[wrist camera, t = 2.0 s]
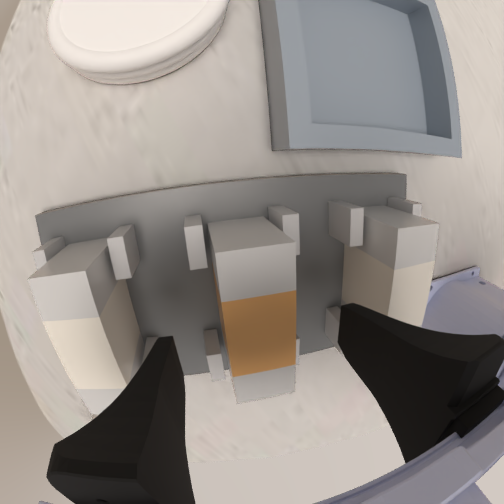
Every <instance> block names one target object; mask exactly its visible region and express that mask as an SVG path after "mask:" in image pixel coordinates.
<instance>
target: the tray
mask: <svg viewBox="0 0 504 504" xmlns="http://www.w3.org/2000/svg"><path fill="white" fill-rule="evenodd" d="M259 9H260V18H261V27H262V37H263V47H264V57H265V68H266V79H267V90H268V102H269V115H270V128H271V141H272V151H275V150H306V149H344V150H374V151H392V152H406V153H417V154H427V155H437V156H448V157H457V158H462V149H461V128H460V116H459V106H458V98H457V90H456V84H455V77H454V72H453V66H452V61H451V57H450V52H449V48H448V44H447V40H446V36H445V32H444V28H443V25H442V21H441V18H440V15H439V12H438V9H437V6H436V3H435V0H259Z"/></svg>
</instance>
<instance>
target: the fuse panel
mask: <svg viewBox="0 0 504 504" xmlns="http://www.w3.org/2000/svg"><path fill="white" fill-rule="evenodd" d="M380 205H385V206H388V207H391V208H395V209H398V210H401V211H404V212H407V213H410V214H413V215H416V216H419V217H421V214H422V204H421V203H418V202H414V201H410V200H406V174H400V173H338V174H311V175H292V176H277V177H263V178H251V179H240V180H230V181H221V182H212V183H203V184H195V185H187V186H180V187H172V188H165V189H159V190H152V191H146V192H140V193H134V194H128V195H122V196H117V197H111V198H106V199H101V200H96V201H91V202H86V203H81V204H76V205H72V206H67V207H63V208H58V209H54V210H50V211H46V212H42V213H40V214H38V215H35V217H36V222H37V227H38V232H39V236H40V241H41V245H42V246H40V247H39V248H37V249H36V250H34V251H33V252H32V254H33V258H34V261H35V265H36V269H37V270H38V269H39V268H41V267H42V266H43V265H44V264H45V263H47V262H48V261H49V260H50V259H51V258H53V257H54V256H55V255H56V254H57V253H59V252H60V251H61V250H62V249H64V248H65V247H66V246H67V245H69V244H72V243H78V242H84V241H90V240H96V239H102V238H107V243H108V248H109V252H110V257H111V261H112V265H113V270H114V274H115V278H116V280H121V279H126V283H127V287H128V291H129V295H130V298H131V302H132V306H133V309H134V313H135V316H136V319H137V323H138V326H139V329H140V332H141V336H142V339H143V342H144V345H145V350H144V356H143V362H144V360H145V359H146V357H147V355H148V354H149V352H150V350H151V348H152V347H153V345H154V343H155V342H156V340H157V339H158V337H166V336H173V338H174V342H175V345H176V349H177V353H178V356H179V360H180V363H181V367H182V370H183V374H184V375H193V374H201V373H208V372H210V374H211V379H212V381H219V380H225V379H226V378H225V372H224V370H228V369H229V366H228V362H227V357H226V352H225V348H224V342H223V336H222V329H221V323H220V316H219V309H218V302H217V295H216V288H215V281H214V274H213V266H212V258H211V250H210V242H209V234H208V225H207V223H211V222H219V221H227V220H235V219H244V218H252V217H261V216H264V217H265V218H266V219H267V220H269V221H270V222H271V223H272V224H274V225H275V226H276V227H277V228H279V229H280V230H281V231H282V232H284V233H285V234H286V235H287V236H289V237H290V238H291V239H292V240H294V241H295V243H296V365H299V355H303V354H307V353H311V352H315V351H319V350H323V349H327V348H330V347H334V346H335V347H336V348H337V350H338V351H339V352H340V354H341V353H343V352H342V350H341V349H340V347H339V345H338V343H337V341H338V332H339V322H340V311H341V298H342V284H343V266H344V244H345V245H347V246H349V247H354V246H361V245H363V222H364V208H363V207H367V206H380ZM143 362H142V363H143Z"/></svg>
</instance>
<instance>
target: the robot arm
mask: <svg viewBox="0 0 504 504" xmlns="http://www.w3.org/2000/svg"><path fill="white" fill-rule="evenodd" d="M479 272H480V268H479V267H478V266H475V267H472V268H469V269H466V270H463V271H460V272H457V273H454V274H451V275H448V276H445V277H442V278H439V279H436V280H432V281H431V286H430V292H429V296H428V301H427V306H426V310H425V314H424V319H423V323H422V326H421V327H418V326H414V325H411V324H408V323H405V322H402V321H399V320H397V319H394V318H391V317H389V316H386V315H384V314H381V313H379V312H376V311H374V310H372V309H369V308H367V307H364V306H361V305H359V304H355V303H349V304H345V305H341V311H340V322H339V332H338V341H337V343H338V345H339V347H340V349H341V350H342V352H343V354H344V356H345V358H346V359H347V361H348V362H349V364H350V365H351V366H352V368H353V369H354V370H355V372H356V373H357V374H358V376H359V377H360V378H361V380H362V381H363V382H364V383H365V385H366V386H367V387H368V389H369V390H370V391H371V393H372V394H373V396H374V397H375V399H376V400H377V402H378V404H379V406H380V407H381V409H382V411H383V413H384V415H385V417H386V418H387V420H388V422H389V424H390V426H391V428H392V431H393V433H394V435H395V437H396V440H397V442H398V444H399V447H400V449H401V452H402V455H403V457H404V460H405V463H406V464H404V465H403V466H401V467H399V468H397V469H395V470H394V471H391V472H390V473H387V474H385V475H384V476H381V477H379V478H377V479H375V480H373V481H371V482H369V483H367V484H364V485H362V486H360V487H357V488H355V489H353V490H350V491H347V492H345V493H342V494H340V495H337V496H334V497H332V498H329V499H326V500H323V501H320V502H317V503H314V504H491V503H490V501H489V500H488V499H487V498H486V496H485V495H484V494H483V492H482V491H481V490H480V489H479V487H478V486H477V485H476V484H475V482H476V481H477V480H478V479H479V478H480V477H481V476H482V475H484V474H485V473H486V472H487V471H488V470H489V469H490V468H491V467H492V466H493V465H494V464H495V463H496V462H497V461H498V460H499V459H500V458H501V457H502V456H503V455H504V290H503V289H501V288H499V287H497V286H496V285H494V284H492V283H490V282H488V281H487V280H485V279H483V278H481V277H479ZM47 479H48V481H49V482H50V484H51V485H52V486H53V487H54V488H55V489H57V490H58V491H59V492H60V493H62V494H63V495H64V496H66V497H67V498H68V499H69V500H71V501H72V502H74V503H75V504H195V499H194V495H193V491H192V485H191V480H190V474H189V468H188V461H187V454H186V446H185V384H184V374H183V370H182V367H181V363H180V360H179V356H178V353H177V349H176V345H175V342H174V338H173V336H166V337H158V339H157V340H156V342H155V343H154V345H153V347H152V348H151V350H150V352H149V354H148V355H147V357H146V359H145V360H144V362H143V363H142V365H141V366H140V368H139V369H138V371H137V372H136V374H135V375H134V377H133V378H132V379H131V381H130V382H129V383H128V385H127V386H126V387H125V389H124V390H123V391H122V392H121V393H120V395H119V396H118V397H117V398H116V399H115V400H114V401H113V402H112V403H111V404H110V405H109V406H108V407H107V408H106V409H105V410H103V411H102V412H101V413H100V414H99V415H98V416H97V417H96V418H94V419H93V420H92V421H91V422H89V423H88V424H87V425H85V426H84V427H82V428H81V429H80V430H78V431H76V432H75V433H73V434H72V435H70V436H68V437H66V438H65V439H63V440H61V441H60V442H58V443H56V444H55V445H54V447H53V451H52V454H51V458H50V462H49V466H48V471H47ZM39 504H51V503H48V502H44V501H39Z"/></svg>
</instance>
